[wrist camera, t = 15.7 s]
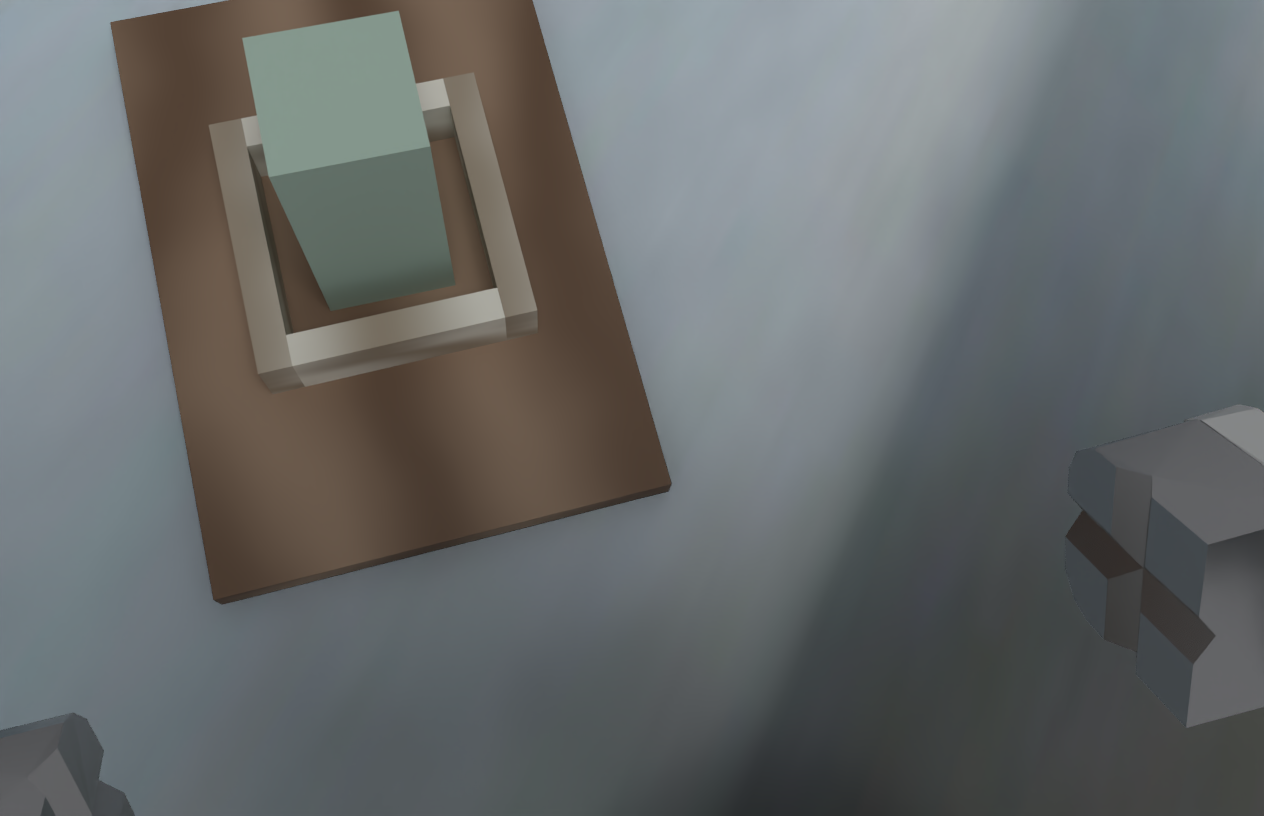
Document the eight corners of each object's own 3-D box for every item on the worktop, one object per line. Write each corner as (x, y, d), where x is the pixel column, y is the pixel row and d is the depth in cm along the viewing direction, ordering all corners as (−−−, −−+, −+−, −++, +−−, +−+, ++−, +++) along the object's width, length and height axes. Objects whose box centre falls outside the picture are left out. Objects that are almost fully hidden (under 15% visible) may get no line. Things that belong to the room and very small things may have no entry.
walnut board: (517, -35, 44) (515, -92, 41) (668, 491, 38) (678, 468, 35) (120, 39, 42) (88, -15, 39) (222, 604, 36) (194, 589, 34)
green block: (430, 175, 40) (398, 10, 31) (455, 285, 39) (430, 146, 30) (308, 198, 39) (242, 37, 31) (330, 311, 38) (268, 177, 30)
